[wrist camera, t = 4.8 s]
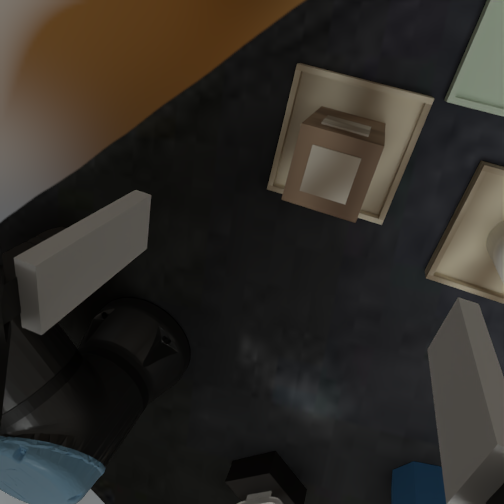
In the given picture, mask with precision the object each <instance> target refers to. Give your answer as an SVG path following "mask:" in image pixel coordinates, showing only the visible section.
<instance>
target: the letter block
mask: <svg viewBox="0 0 504 504" xmlns="http://www.w3.org/2000/svg"><path fill="white" fill-rule="evenodd" d="M385 125H386V123H382V122H379V121H375V120H371V119H368V118H364V117H360V116H356V115H353V114H349V113H345V112H342V111H338V110H334V109H331V108H327V107H323V106H321V107H320V108H319V109H318V110H316V111H315V112H314V113H313V114H312V115H311V116H309V117H308V118H307V119H306V120H305V121H304V122H302V123H301V127H300V131H299V135H298V138H297V142H296V146H295V150H294V154H293V157H292V161H291V165H290V169H289V172H288V176H287V180H286V184H285V188H284V191H283V195H282V199H281V200H284V201H288V202H291V203H294V204H297V205H300V206H303V207H307V208H310V209H313V210H316V211H319V212H323V213H326V214H329V215H332V216H335V217H338V218H342V219H345V220H348V221H351V222H354V223H356V220H357V218H358V215H359V212H360V210H361V207H362V205H363V202H364V199H365V197H366V194H367V191H368V189H369V186H370V183H371V181H372V178H373V175H374V173H375V170H376V168H377V165H378V162H379V160H380V157H381V154H382V152H383V149H384V146H385Z"/></svg>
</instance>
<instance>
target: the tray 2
mask: <svg viewBox="0 0 504 504" xmlns="http://www.w3.org/2000/svg"><path fill="white" fill-rule="evenodd" d="M444 100H445V101H446V102H449V103H453V104H457V105H461V106H464V107H468V108H472V109H476V110H480V111H484V112H488V113H492V114H496V115H500V116H504V0H487V1H486V4H485V6H484V8H483V11H482V13H481V15H480V18H479V20H478V22H477V25H476V27H475V29H474V32H473V34H472V36H471V39H470V41H469V43H468V46H467V48H466V50H465V53H464V55H463V57H462V60H461V62H460V64H459V67H458V69H457V71H456V74H455V76H454V78H453V81H452V83H451V85H450V88H449V90H448V92H447V95H446V97H445V99H444Z"/></svg>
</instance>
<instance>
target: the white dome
mask: <svg viewBox="0 0 504 504" xmlns="http://www.w3.org/2000/svg"><path fill="white" fill-rule="evenodd" d="M486 247H487V251H488V253H489V255H490V257H491V259H492V261H493V264H494V266H495V268H496V270H497V272H498V274H499V276H500V278H501V280H502V282H503V284H504V221H502V222H500V223H499V224H497V225H496V226H495V227H494V228H493V229H492V230H491V232H490V233H489V235H488V237H487V241H486Z"/></svg>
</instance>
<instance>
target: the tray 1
mask: <svg viewBox="0 0 504 504" xmlns="http://www.w3.org/2000/svg"><path fill="white" fill-rule="evenodd" d="M433 101H434V98H433V97H431V96H427V95H424V94H420V93H416V92H412V91H408V90H404V89H400V88H396V87H392V86H388V85H384V84H380V83H377V82H373V81H369V80H365V79H361V78H357V77H353V76H349V75H345V74H341V73H337V72H333V71H330V70H326V69H322V68H318V67H314V66H310V65H306V64H302V63H298V64H297V66H296V71H295V75H294V79H293V83H292V87H291V91H290V95H289V100H288V104H287V108H286V112H285V116H284V120H283V125H282V129H281V133H280V137H279V141H278V145H277V150H276V154H275V158H274V162H273V166H272V170H271V175H270V179H269V183H268V187H267V189H268V190H271V191H274V192H278V193H281V194H283V191H284V188H285V184H286V180H287V176H288V172H289V169H290V165H291V161H292V157H293V154H294V150H295V146H296V142H297V138H298V135H299V131H300V127H301V123H302V122H304V121H305V120H306V119H307V118H308V117H309V116H311V115H312V114H313V113H314V112H315V111H316V110H318V109H319V108H320V107H321V106H323V107H327V108H331V109H334V110H338V111H342V112H345V113H349V114H353V115H356V116H360V117H364V118H368V119H371V120H375V121H379V122H382V123H386V125H385V146H384V149H383V152H382V154H381V157H380V160H379V162H378V165H377V168H376V170H375V173H374V175H373V178H372V181H371V183H370V186H369V189H368V191H367V194H366V197H365V199H364V202H363V205H362V207H361V210H360V212H359V215H358V218H361V219H364V220H367V221H370V222H374V223H377V224H380V225H382V223H383V221H384V218H385V216H386V214H387V211H388V209H389V206H390V204H391V202H392V199H393V197H394V194H395V192H396V190H397V187H398V185H399V182H400V180H401V178H402V175H403V173H404V170H405V168H406V166H407V163H408V161H409V158H410V156H411V154H412V151H413V149H414V146H415V144H416V142H417V139H418V137H419V134H420V132H421V130H422V127H423V125H424V122H425V120H426V118H427V115H428V113H429V110H430V108H431V106H432V103H433Z"/></svg>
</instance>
